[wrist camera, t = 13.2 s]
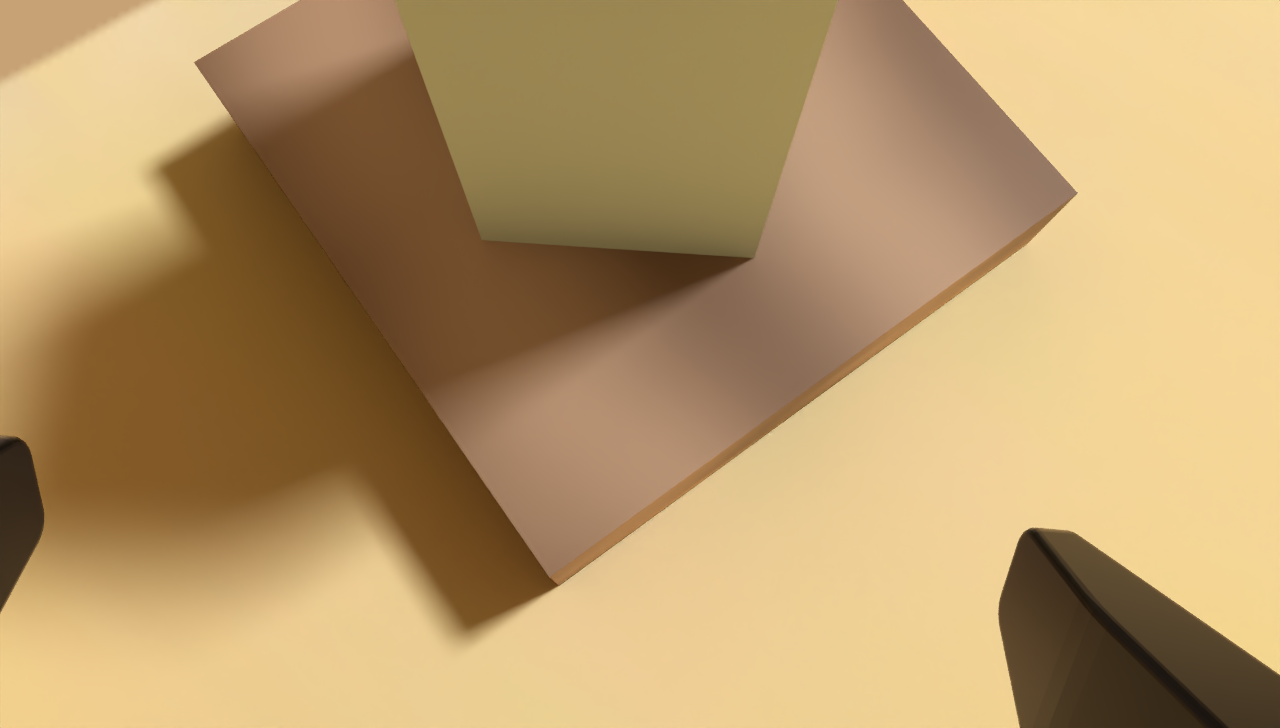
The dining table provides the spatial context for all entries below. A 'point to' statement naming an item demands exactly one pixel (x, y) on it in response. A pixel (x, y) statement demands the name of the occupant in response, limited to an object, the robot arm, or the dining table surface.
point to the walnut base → (636, 260)
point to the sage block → (619, 114)
